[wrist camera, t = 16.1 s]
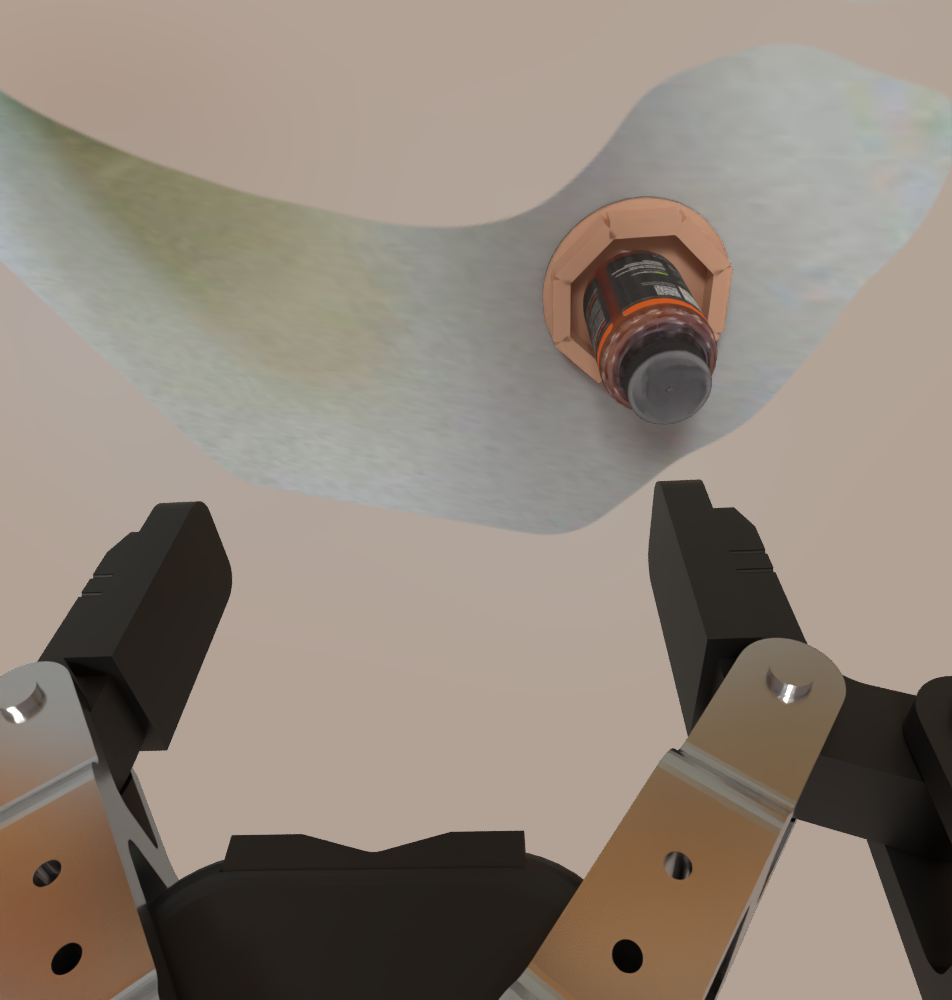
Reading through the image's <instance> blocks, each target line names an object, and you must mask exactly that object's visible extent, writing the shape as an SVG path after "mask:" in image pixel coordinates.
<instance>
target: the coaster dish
mask: <svg viewBox="0 0 952 1000" xmlns="http://www.w3.org/2000/svg"><path fill="white" fill-rule="evenodd" d="M632 250H646V251H651V252H654V253H657V254H659V255H662V256H664V257H665V258H666V259H668V260H669V261H670V262H671V263H672V264H673V265H674V266H675V268H676V269H677V270H678V272H679V273H680V275H681V276H682V278H683V280H684V282H685V284H686V285H687V287H688V289H689V290H690V292H691V294H692V296H693V297H694V299H695V301H696V303H697V304H698V306H699V308H700V309H701V311H702V313H703V315H704V316H705V318H706V320H707V322H708V324H709V325H710V327H711V329H712V331H713V333H714V336H715V340H716V341H717V340H718V339H719V338H720V335H719V333H721V332H724V325H725V318H726V311H727V304H728V298H729V291H730V284H731V277H732V270H733V269H732V267H731V266H730V265H731V263H730V262H729V260H728V256H727V253H726V250H725V248H724V245H723V243H722V241H721V240H720V238H719V236H718V234H717V233H716V232H715V230H714V229H713V228H712V227H711V225H710V224H709V223H708V222H707V221H706V220H705V219H704V218H703V217H702V216H701V215H700V214H699V213H697V212H696V211H694V210H692V209H691V208H689V207H687V206H685V205H683V204H681V203H679V202H676V201H672V200H669V199H665V198H658V197H636V198H629V199H624V200H620V201H617V202H613V203H611V204H609V205H606V206H604V207H601V208H600V209H598V210H596V211H594V212H593V213H591V214H589V215H588V216H587V217H585V218H584V219H583V220H581V221H580V222H579V223H578V224H577V225H576V226H575V227H573V228H572V229H571V230H570V231H569V233H568V234H567V235H566V236H565V237H564V239H563V240H562V241H561V243H560V244H559V246H558V247H557V249H556V250H555V252H554V254H553V256H552V258H551V260H550V263H549V265H548V268H547V271H546V275H545V280H544V285H543V308H544V315H545V319H546V324H547V326H548V329H549V332H550V334H551V336H552V338H553V342H555V347H556V348H558V349H559V350H560V351H561V352H562V353H563V354H565V355H566V356H567V357H568V358H569V359H570V360H571V361H573V362H574V363H575V364H576V365H578V366H579V367H580V368H581V369H582V370H583V371H585V372H586V373H587V374H588V375H589V376H590V377H592V378H593V379H594V380H595V381H596V382H598V383H599V384H600V383H601V382H602V380H601V377H600V373H599V369H598V366H597V362H596V359H595V355H594V351H593V347H592V344H591V340H590V336H589V332H588V329H587V325H586V322H585V317H584V312H583V297H584V292H585V289H586V286H587V284H588V282H589V279H590V278H591V276H592V275H593V274H594V272H595V271H596V270H597V269H598V268H599V267H600V266H601V265H602V264H603V263H604V262H606V261H607V260H608V259H610V258H612V257H613V256H616V255H617V254H620V253H623V252H627V251H632Z"/></svg>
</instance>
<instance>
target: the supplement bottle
mask: <svg viewBox="0 0 952 1000" xmlns="http://www.w3.org/2000/svg"><path fill="white" fill-rule="evenodd" d="M583 312H584V317H585V322H586V325H587V329H588V332H589V336H590V340H591V344H592V347H593V351H594V355H595V359H596V362H597V366H598V369H599V373H600V377H601V380H602V382H603V384H604V386H605V388H606V389H607V391H608V392H609V394H610V395H611V396H612V397H613V398H614V399H615V400H616V401H617V402H618V403H620V404H622V405H623V406H625V407H627V408H629V409H632V410H633V411H634V412H635V413H636V414H637V415H638V416H639V417H640V418H642V419H643V420H645V421H648V422H651V423H655V424H673V423H676V422H679V421H682V420H684V419H687V418H688V417H690V416H692V415H693V414H695V413H696V412H697V411H698V410H699V409H700V408H701V407H702V406H703V405H704V403H705V402H706V400H707V399H708V396H709V394H710V391H711V386H712V378H711V377H712V374H713V372H714V369H715V365H716V360H717V343H716V340H715V336H714V333H713V331H712V329H711V327H710V325H709V324H708V322H707V320H706V318H705V316H704V315H703V313H702V311H701V309H700V308H699V306H698V304H697V303H696V301H695V299H694V297H693V296H692V294H691V292H690V290H689V289H688V287H687V285H686V284H685V282H684V280H683V278H682V276H681V275H680V273H679V272H678V270H677V269H676V268H675V266H674V265H673V264H672V263H671V262H670V261H669V260H668V259H666V258H665V257H664V256H662V255H659V254H657V253H654V252H651V251H646V250H632V251H627V252H623V253H620V254H617V255H616V256H613V257H612V258H610V259H608V260H607V261H606V262H604V263H603V264H602V265H601V266H600V267H599V268H598V269H597V270H596V271H595V272H594V274H593V275H592V276H591V278H590V279H589V282H588V284H587V286H586V289H585V292H584V297H583Z"/></svg>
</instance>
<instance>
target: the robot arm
mask: <svg viewBox="0 0 952 1000" xmlns="http://www.w3.org/2000/svg"><path fill="white" fill-rule="evenodd" d="M648 559H649V560H648V561H649V573H650V580H651V585H652V589H653V593H654V597H655V601H656V606H657V609H658V614H659V618H660V622H661V626H662V631H663V635H664V639H665V643H666V647H667V651H668V655H669V659H670V663H671V668H672V672H673V676H674V680H675V684H676V689H677V693H678V697H679V701H680V705H681V709H682V713H683V717H684V722H685V725H686V730H687V734H688V738H687V740H686V741H685V743H684V744H683V745H682V747H681V748H680V749H679V750H676V749H673V748H672V749H670V750H669V751H668V752H667V753H666V754H665V755H664V757H663V758H662V759H661V760H660V762H659V764H658V765H657V766H656V768H655V770H654V771H653V773H652V774H651V776H650V777H649V779H648V780H647V782H646V784H645V785H644V787H643V788H642V790H641V791H640V793H639V794H638V796H637V798H636V799H635V801H634V802H633V804H632V805H631V807H630V809H629V810H628V812H627V813H626V815H625V816H624V818H623V819H622V821H621V823H620V824H619V826H618V827H617V829H616V830H615V832H614V834H613V835H612V837H611V838H610V840H609V842H608V843H607V844H606V846H605V847H604V849H603V851H602V852H601V854H600V855H599V857H598V858H597V860H596V861H595V863H594V864H593V866H592V868H591V869H590V871H589V872H588V874H587V875H586V877H585V878H584V880H583V879H582V878H581V877H579V876H578V875H577V874H575V873H574V872H572V871H570V870H568V869H567V868H565V867H563V866H561V865H560V864H558V863H555V862H553V861H550V860H548V859H545V858H543V857H540V856H536V855H533V854H529V853H526V852H525V838H524V831H476V832H449V833H445V834H441V835H438V836H434V837H431V838H427V839H423V840H420V841H417V842H412V843H409V844H405V845H402V846H398V847H394V848H391V849H387V850H384V851H379V852H367V851H363V850H359V849H355V848H352V847H348V846H344V845H340V844H337V843H333V842H329V841H326V840H321V839H318V838H314V837H311V836H307V835H302V834H286V835H232V836H231V840H230V843H229V847H228V850H227V853H226V856H225V860H222V861H218V862H216V863H213V864H211V865H208V866H206V867H204V868H201V869H199V870H197V871H195V872H193V873H191V874H189V875H187V876H185V877H184V878H182V879H180V880H179V879H178V878H177V876H176V874H175V872H174V870H173V868H172V866H171V863H170V861H169V859H168V856H167V854H166V851H165V848H164V846H163V843H162V840H161V838H160V835H159V832H158V830H157V827H156V824H155V822H154V819H153V816H152V814H151V811H150V808H149V806H148V803H147V800H146V798H145V795H144V793H143V790H142V787H141V785H140V782H139V779H138V777H137V775H136V773H135V771H134V770H133V768H132V767H133V764H134V762H135V760H136V758H137V755H138V753H139V751H157V750H158V751H160V750H167V749H168V747H169V744H170V742H171V739H172V737H173V734H174V731H175V730H176V727H177V724H178V722H179V720H180V717H181V715H182V712H183V710H184V707H185V705H186V703H187V700H188V698H189V695H190V693H191V690H192V688H193V685H194V683H195V681H196V678H197V675H198V673H199V671H200V668H201V666H202V663H203V661H204V658H205V655H206V653H207V651H208V649H209V646H210V644H211V641H212V639H213V636H214V634H215V631H216V629H217V627H218V624H219V622H220V619H221V617H222V614H223V612H224V609H225V607H226V604H227V602H228V599H229V597H230V593H231V588H232V572H231V567H230V563H229V560H228V557H227V555H226V552H225V550H224V547H223V545H222V542H221V539H220V537H219V534H218V532H217V529H216V527H215V524H214V522H213V519H212V516H211V514H210V511H209V509H208V507H207V506H206V505H205V504H204V503H203V502H200V501H197V502H176V503H159V504H157V505H156V506H155V507H154V508H153V510H152V512H151V513H150V515H149V517H148V518H147V520H146V522H145V523H144V525H143V526H142V528H141V530H140V531H139V532H131V533H129V534H128V535H127V536H126V537H125V538H123V539H122V540H121V541H120V542H119V543H118V544H117V545H115V546H114V547H113V548H112V549H111V550H109V551H108V552H107V553H106V555H105V556H104V558H103V559H102V561H101V563H100V564H99V566H98V567H97V569H96V570H95V572H94V574H93V579H90V580H89V582H88V583H87V585H86V586H85V588H84V589H83V591H82V597H78V599H77V600H76V602H75V603H74V605H73V607H72V608H71V610H70V611H69V613H68V614H67V616H66V618H65V619H64V621H63V622H62V624H61V625H60V627H59V628H58V630H57V632H56V633H55V635H54V637H53V638H52V639H51V641H50V643H49V644H48V646H47V647H46V649H45V650H44V652H43V654H42V655H41V657H40V658H39V660H38V661H37V662H35V663H30V664H26V665H24V666H20V667H18V668H15V669H13V670H11V671H9V672H7V673H5V674H4V675H2V676H1V677H0V1000H716V999H717V997H718V995H719V993H720V990H721V988H722V986H723V984H724V982H725V980H726V977H727V975H728V973H729V971H730V968H731V966H732V964H733V962H734V960H735V957H736V955H737V953H738V950H739V948H740V946H741V943H742V941H743V939H744V936H745V934H746V932H747V929H748V927H749V924H750V922H751V920H752V917H753V915H754V913H755V911H756V909H757V907H758V904H759V902H760V900H761V898H762V895H763V893H764V891H765V889H766V887H767V885H768V882H769V880H770V878H771V876H772V874H773V872H774V869H775V867H776V865H777V863H778V861H779V858H780V856H781V854H782V852H783V849H784V848H785V845H786V843H787V841H788V839H789V837H790V834H791V832H792V830H793V828H794V826H795V824H796V821H797V819H799V820H802V821H806V822H809V823H813V824H816V825H819V826H823V827H827V828H830V829H833V830H837V831H840V832H843V833H847V834H851V835H854V836H858V837H861V838H864V839H867V842H868V845H869V847H870V850H871V853H872V856H873V859H874V862H875V865H876V868H877V870H878V873H879V876H880V879H881V882H882V885H883V888H884V891H885V893H886V896H887V899H888V902H889V905H890V908H891V911H892V913H893V916H894V919H895V922H896V925H897V928H898V931H899V933H900V936H901V939H902V942H903V945H904V948H905V951H906V953H907V956H908V959H909V962H910V965H911V968H912V971H913V973H914V977H915V979H916V982H917V985H918V988H919V991H920V994H921V996H922V1000H952V676H945V677H940V678H935V679H933V680H931V681H929V682H927V683H926V684H924V685H923V686H922V687H921V689H920V690H919V691H918V694H917V695H916V696H915V695H911V694H906V693H902V692H898V691H893V690H889V689H885V688H880V687H876V686H871V685H868V684H864V683H860V682H857V681H855V680H852V679H850V678H847V677H845V676H843V675H842V674H841V672H840V670H839V669H838V667H837V666H836V665H835V664H834V663H833V662H832V660H830V659H829V658H828V657H827V656H826V655H825V654H823V653H822V652H820V651H818V650H817V649H816V648H814V647H811V646H810V645H808V644H807V642H806V641H805V638H804V636H803V634H802V631H801V629H800V627H799V625H798V623H797V620H796V618H795V615H794V613H793V611H792V609H791V607H790V604H789V602H788V600H787V598H786V595H785V593H784V591H783V589H782V586H781V584H780V582H779V579H778V577H777V575H776V573H775V572H773V566H772V564H771V562H770V559H769V557H768V554H765V548H764V546H763V543H762V541H761V539H760V536H759V534H758V532H757V530H756V528H755V526H754V525H753V524H752V523H751V522H749V521H748V520H747V519H746V518H745V517H744V516H743V515H742V514H741V513H739V512H738V511H737V510H736V509H735V508H734V507H733V508H713V507H712V504H711V502H710V499H709V497H708V494H707V491H706V489H705V486H704V484H703V482H702V481H701V480H680V481H659V482H656V485H655V489H654V498H653V507H652V518H651V528H650V539H649V552H648Z"/></svg>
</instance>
